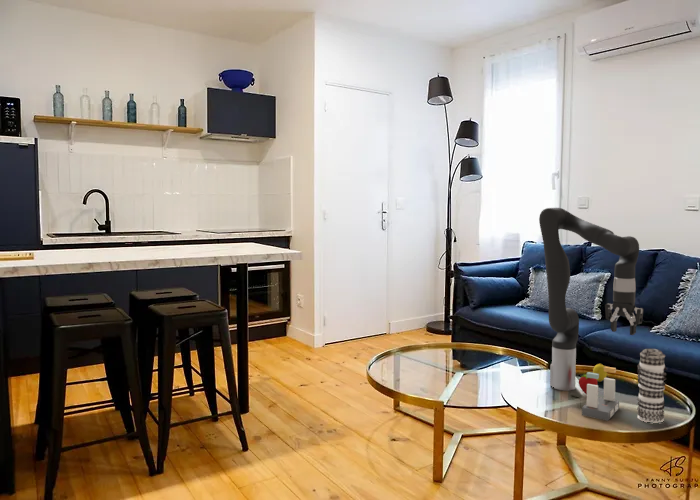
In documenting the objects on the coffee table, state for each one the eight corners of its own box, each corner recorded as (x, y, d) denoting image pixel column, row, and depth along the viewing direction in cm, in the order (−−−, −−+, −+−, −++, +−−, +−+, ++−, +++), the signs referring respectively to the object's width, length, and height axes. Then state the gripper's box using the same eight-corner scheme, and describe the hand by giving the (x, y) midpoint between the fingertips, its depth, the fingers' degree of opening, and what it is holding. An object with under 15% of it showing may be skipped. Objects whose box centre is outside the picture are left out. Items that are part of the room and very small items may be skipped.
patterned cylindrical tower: (645, 412, 208) (646, 345, 206) (670, 420, 200) (672, 350, 198) (630, 417, 203) (632, 349, 201) (656, 426, 195) (658, 355, 193)
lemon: (608, 384, 240) (608, 365, 239) (594, 383, 241) (594, 365, 240) (605, 380, 245) (605, 361, 244) (591, 379, 246) (591, 361, 245)
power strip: (581, 415, 207) (581, 407, 206) (596, 400, 221) (596, 392, 221) (608, 421, 201) (609, 412, 200) (622, 405, 215) (622, 397, 215)
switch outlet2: (603, 399, 213) (603, 367, 212) (604, 398, 214) (605, 366, 213) (614, 401, 210) (614, 369, 209) (615, 400, 212) (615, 368, 211)
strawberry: (600, 396, 225) (601, 372, 224) (584, 398, 223) (584, 374, 222) (591, 392, 230) (591, 368, 230) (575, 393, 229) (575, 369, 228)
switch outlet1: (586, 406, 206) (586, 373, 205) (587, 404, 208) (588, 372, 207) (597, 408, 204) (597, 375, 203) (598, 406, 205) (599, 373, 204)
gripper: (600, 288, 217) (599, 331, 218) (638, 293, 205) (636, 338, 207) (611, 286, 221) (610, 328, 223) (648, 290, 209) (647, 335, 211)
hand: (623, 332), depth 215 cm, fingers open, 6 cm apart
